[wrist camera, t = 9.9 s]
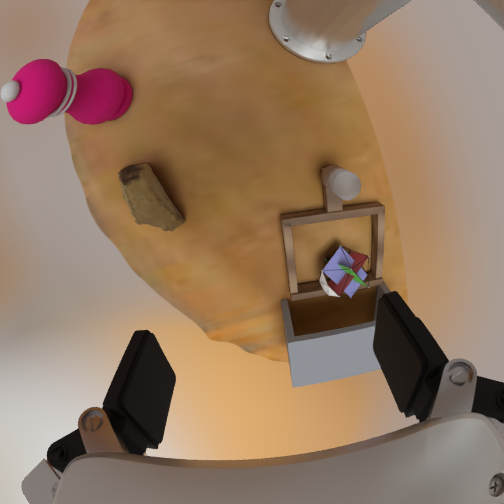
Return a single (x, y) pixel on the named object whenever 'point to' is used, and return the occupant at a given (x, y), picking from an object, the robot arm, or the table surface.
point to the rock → (148, 198)
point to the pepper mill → (65, 94)
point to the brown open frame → (335, 189)
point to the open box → (331, 350)
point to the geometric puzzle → (344, 273)
